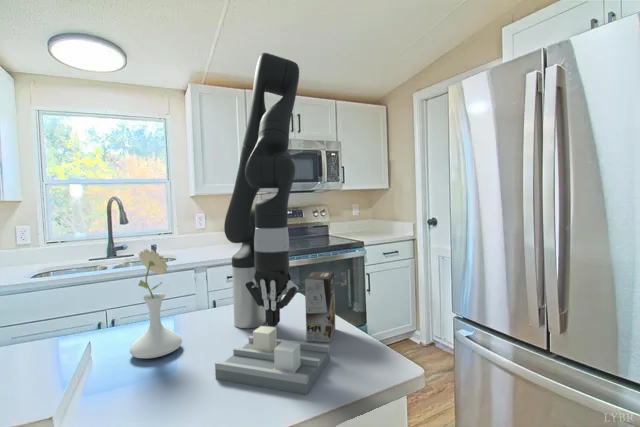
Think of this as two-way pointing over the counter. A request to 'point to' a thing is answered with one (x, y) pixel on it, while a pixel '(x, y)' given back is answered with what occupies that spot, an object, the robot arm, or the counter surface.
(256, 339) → the cream cube
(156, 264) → the flower in vase
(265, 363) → the grey ridged tray
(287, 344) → the pale grey cube
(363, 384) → the counter surface
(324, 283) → the coffee box
